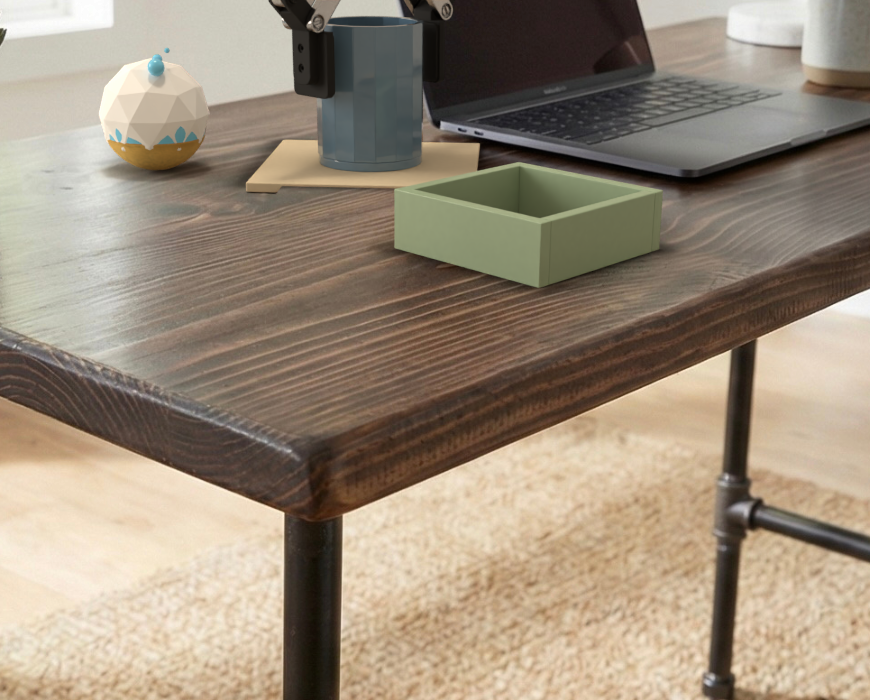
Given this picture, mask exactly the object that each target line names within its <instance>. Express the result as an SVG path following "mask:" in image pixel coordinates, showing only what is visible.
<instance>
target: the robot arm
mask: <svg viewBox="0 0 870 700" xmlns="http://www.w3.org/2000/svg"><path fill="white" fill-rule="evenodd" d="M267 1H268V3H269V5H271V7H272V8H273V9H274V10H275V12H276V13H277V14H278V15H279V16H280V17H281V23H282V26H283V27H284V28H285V29H287V30H291V47H292V49H291V50H292V75H293V90H294V92H295V94H296V95H299V96H305V97H310V98H314V99H315V98H316V99H317V98H321V99H328V98H332V97H333V96H334V94H335V56H334V36H333V32H327V31H324V29H325V27H326V25H327V24H328V22H329V20H330V18H331V17H333V15H334V13H335V11H336V10H337V8H338V6H339V5H340V2H341V1H342V0H267ZM403 1H404V3H405V4H406V5H405V6H407V7H408V9H409V11H410V13H411V14H412V16H409V17H407V18H414V19H419V20H422V21H423V22H424V30H423V82H427V83H432V84H438V83H443V82H444V81H445V73H446V71H445V70H446V68H445V67H446V66H445V65H446V63H445V59H446V57H445V56H446V21H449V20H450V19H451V18H452V16H453V12H454V8H453V5H454V3H455V2H456V0H403Z"/></svg>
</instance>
